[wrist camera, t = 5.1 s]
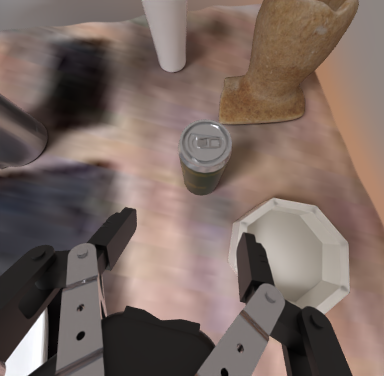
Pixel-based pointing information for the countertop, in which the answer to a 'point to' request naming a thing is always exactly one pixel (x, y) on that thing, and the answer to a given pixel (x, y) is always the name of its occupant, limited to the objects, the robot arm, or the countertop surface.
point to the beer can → (204, 155)
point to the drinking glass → (168, 31)
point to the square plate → (30, 349)
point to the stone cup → (284, 58)
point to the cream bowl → (298, 252)
